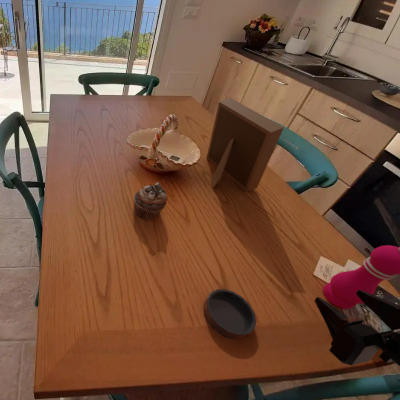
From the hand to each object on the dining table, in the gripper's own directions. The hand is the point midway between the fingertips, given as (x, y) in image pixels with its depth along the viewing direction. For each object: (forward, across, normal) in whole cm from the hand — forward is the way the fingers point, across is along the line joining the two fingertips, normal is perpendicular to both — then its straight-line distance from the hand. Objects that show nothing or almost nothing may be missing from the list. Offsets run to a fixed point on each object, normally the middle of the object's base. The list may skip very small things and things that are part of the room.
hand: (337, 295), depth 49 cm
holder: (+9, +12, +13) cm, 20 cm away
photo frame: (+56, -15, 0) cm, 58 cm away
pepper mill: (+9, -18, +14) cm, 24 cm away
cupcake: (+42, +19, +4) cm, 46 cm away
